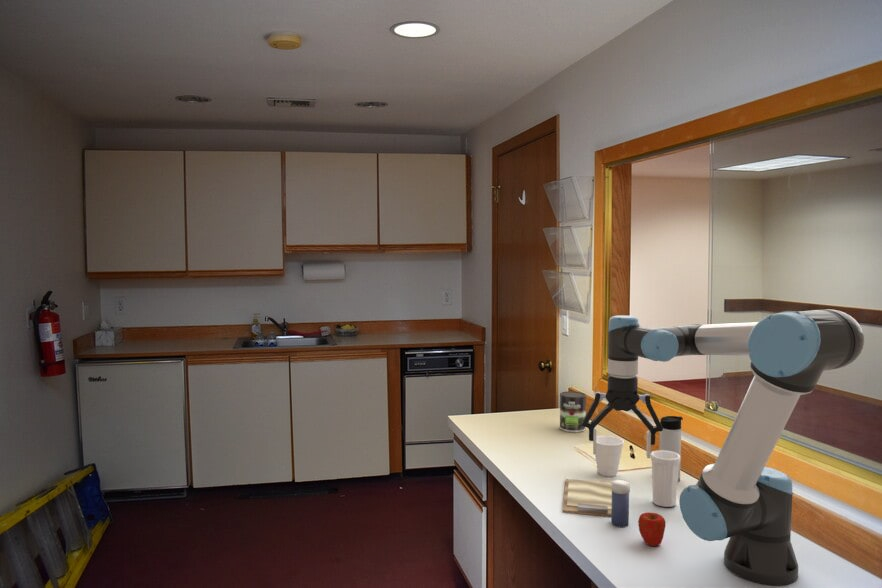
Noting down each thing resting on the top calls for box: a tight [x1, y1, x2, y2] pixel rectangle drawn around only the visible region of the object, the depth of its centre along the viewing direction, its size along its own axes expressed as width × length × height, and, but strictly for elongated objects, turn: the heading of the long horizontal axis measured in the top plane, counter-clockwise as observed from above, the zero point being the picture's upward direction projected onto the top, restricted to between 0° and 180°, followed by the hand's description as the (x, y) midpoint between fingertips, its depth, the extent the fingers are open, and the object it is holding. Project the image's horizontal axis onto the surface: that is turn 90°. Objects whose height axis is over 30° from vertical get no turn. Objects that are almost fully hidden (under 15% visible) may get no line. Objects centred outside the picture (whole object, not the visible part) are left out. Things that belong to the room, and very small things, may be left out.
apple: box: [637, 511, 667, 547], centre depth 156 cm, size 6×6×8 cm
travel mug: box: [659, 415, 684, 482], centre depth 198 cm, size 6×7×20 cm
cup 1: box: [594, 435, 625, 477], centre depth 203 cm, size 10×10×11 cm
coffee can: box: [559, 390, 587, 433], centre depth 252 cm, size 10×10×14 cm
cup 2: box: [650, 449, 680, 508], centre depth 179 cm, size 8×8×14 cm
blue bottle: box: [610, 479, 631, 528], centre depth 167 cm, size 5×5×11 cm
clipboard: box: [562, 478, 612, 517], centre depth 184 cm, size 24×16×2 cm, turn 167°
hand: (621, 454), depth 166 cm, fingers open, 13 cm apart
